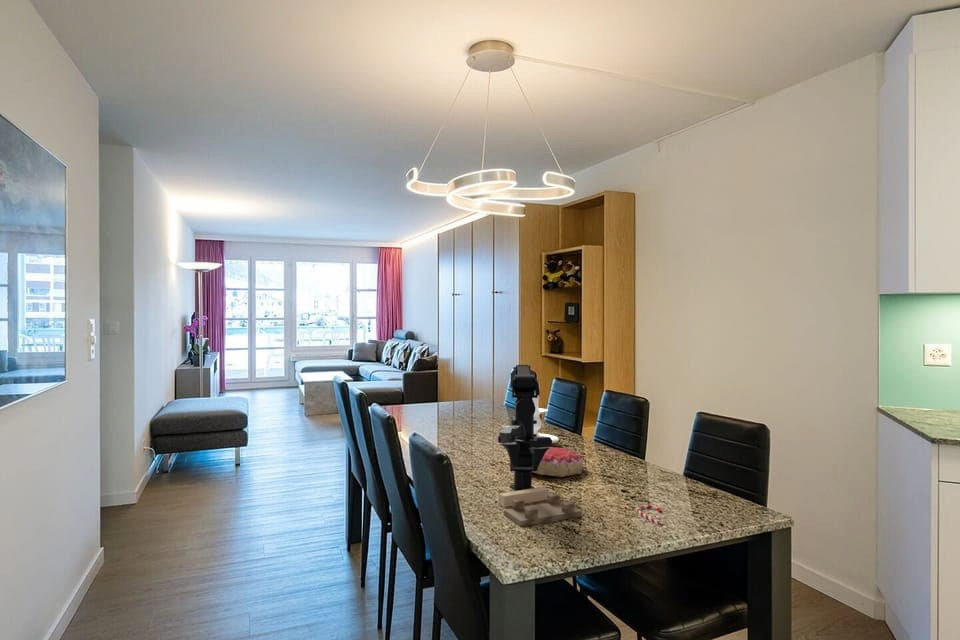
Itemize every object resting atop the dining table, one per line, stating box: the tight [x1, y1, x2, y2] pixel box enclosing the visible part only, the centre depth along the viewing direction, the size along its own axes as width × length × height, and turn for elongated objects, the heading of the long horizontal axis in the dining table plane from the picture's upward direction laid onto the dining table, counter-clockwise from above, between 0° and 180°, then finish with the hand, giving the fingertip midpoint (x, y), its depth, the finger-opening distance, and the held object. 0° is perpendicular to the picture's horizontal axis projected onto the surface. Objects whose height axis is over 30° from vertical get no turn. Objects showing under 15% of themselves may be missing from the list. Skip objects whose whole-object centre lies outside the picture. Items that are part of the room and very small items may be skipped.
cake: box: [531, 446, 583, 479], centre depth 215 cm, size 25×25×8 cm
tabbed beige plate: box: [503, 493, 583, 527], centre depth 166 cm, size 20×10×4 cm, turn 114°
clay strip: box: [498, 486, 549, 508], centre depth 178 cm, size 16×3×4 cm, turn 118°
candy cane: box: [635, 504, 663, 527], centre depth 166 cm, size 8×1×15 cm
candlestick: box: [502, 382, 559, 444], centre depth 255 cm, size 21×25×28 cm
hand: (524, 469), depth 174 cm, fingers open, 9 cm apart
